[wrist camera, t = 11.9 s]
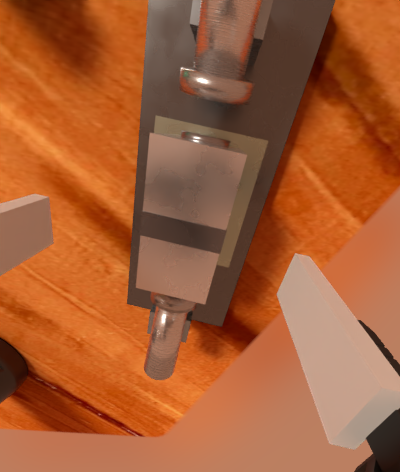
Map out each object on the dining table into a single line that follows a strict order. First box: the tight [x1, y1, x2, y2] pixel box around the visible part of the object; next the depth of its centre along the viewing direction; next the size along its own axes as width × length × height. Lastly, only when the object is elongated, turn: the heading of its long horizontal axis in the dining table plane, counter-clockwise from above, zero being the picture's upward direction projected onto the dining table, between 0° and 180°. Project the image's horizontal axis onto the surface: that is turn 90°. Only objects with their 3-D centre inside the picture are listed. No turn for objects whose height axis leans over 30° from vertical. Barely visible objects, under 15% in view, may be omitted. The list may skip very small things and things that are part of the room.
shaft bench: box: [127, 0, 335, 380], centre depth 17 cm, size 32×12×9 cm, turn 168°
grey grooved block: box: [136, 130, 247, 304], centre depth 16 cm, size 11×5×7 cm, turn 168°
